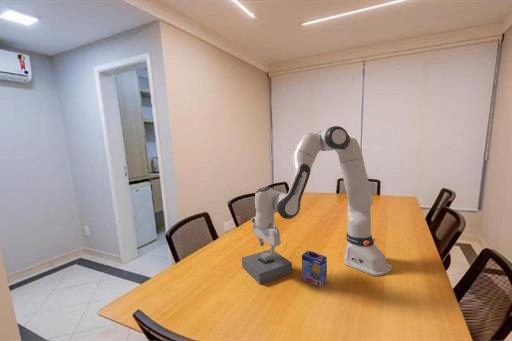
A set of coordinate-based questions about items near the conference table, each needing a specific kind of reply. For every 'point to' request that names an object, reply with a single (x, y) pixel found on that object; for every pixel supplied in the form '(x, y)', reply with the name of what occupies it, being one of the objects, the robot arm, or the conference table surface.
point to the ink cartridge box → (314, 268)
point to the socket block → (266, 267)
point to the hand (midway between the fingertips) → (266, 248)
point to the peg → (266, 258)
